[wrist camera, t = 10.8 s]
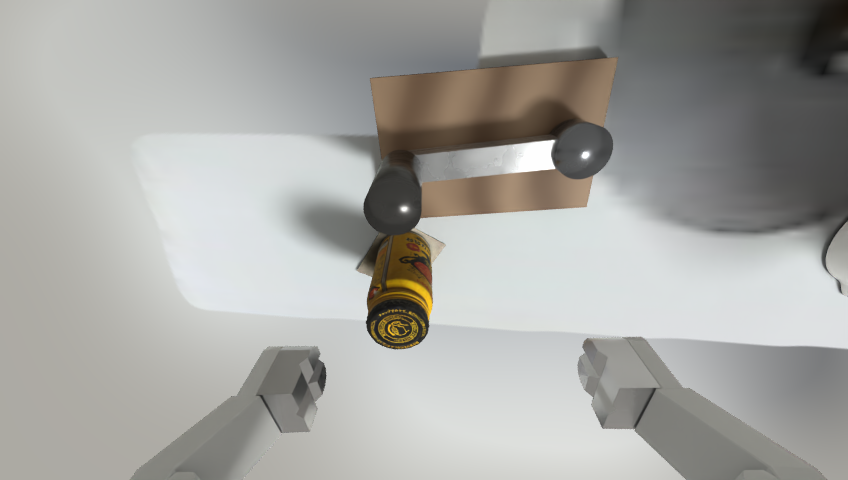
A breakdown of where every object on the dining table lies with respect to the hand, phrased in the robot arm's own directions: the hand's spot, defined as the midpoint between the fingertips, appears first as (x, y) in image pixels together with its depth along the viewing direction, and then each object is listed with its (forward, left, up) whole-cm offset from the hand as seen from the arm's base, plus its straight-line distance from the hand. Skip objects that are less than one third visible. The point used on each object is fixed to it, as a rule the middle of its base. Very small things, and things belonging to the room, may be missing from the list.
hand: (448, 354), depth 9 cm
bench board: (-5, -1, -23) cm, 24 cm away
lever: (-5, 0, -21) cm, 22 cm away
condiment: (+4, +12, -24) cm, 27 cm away
